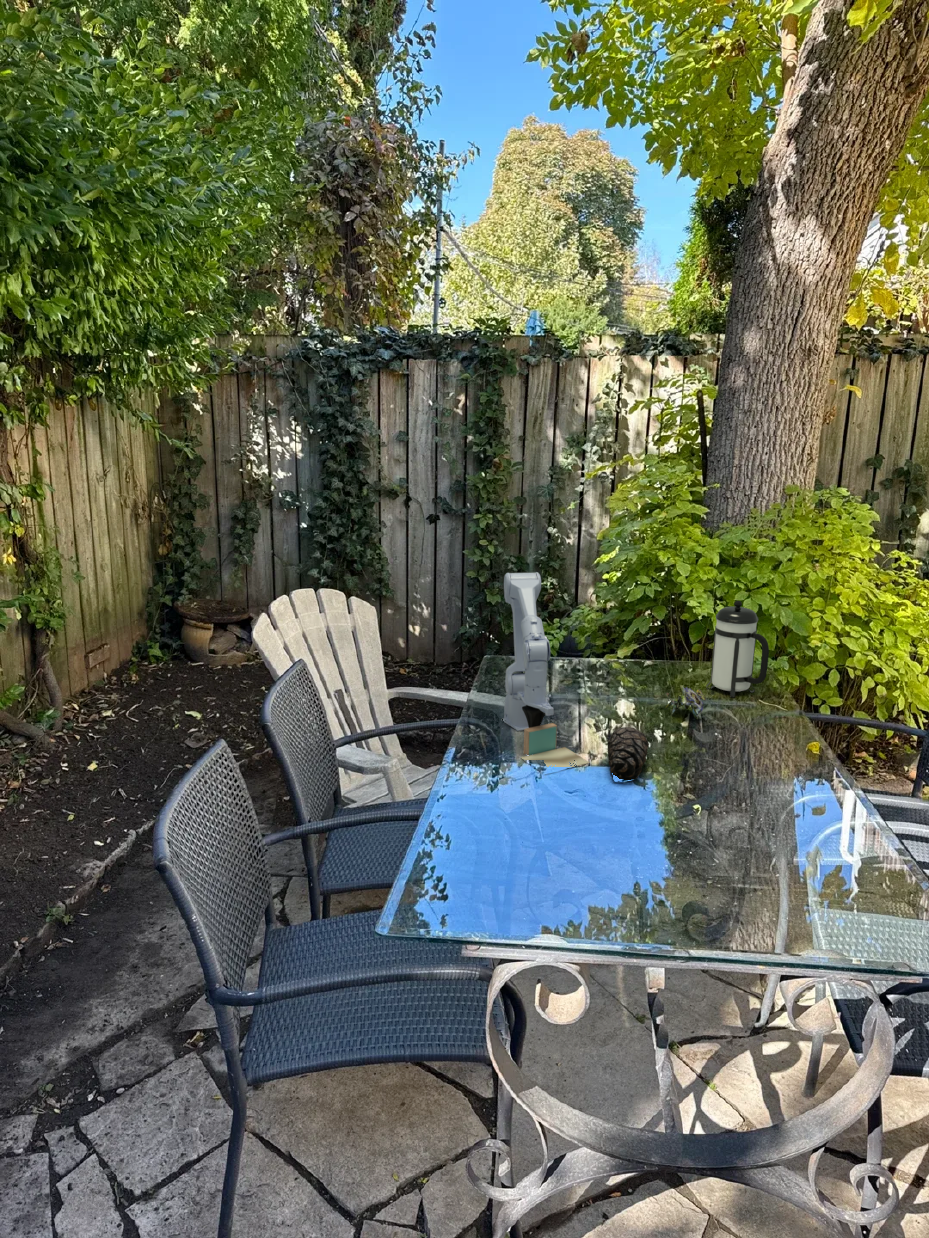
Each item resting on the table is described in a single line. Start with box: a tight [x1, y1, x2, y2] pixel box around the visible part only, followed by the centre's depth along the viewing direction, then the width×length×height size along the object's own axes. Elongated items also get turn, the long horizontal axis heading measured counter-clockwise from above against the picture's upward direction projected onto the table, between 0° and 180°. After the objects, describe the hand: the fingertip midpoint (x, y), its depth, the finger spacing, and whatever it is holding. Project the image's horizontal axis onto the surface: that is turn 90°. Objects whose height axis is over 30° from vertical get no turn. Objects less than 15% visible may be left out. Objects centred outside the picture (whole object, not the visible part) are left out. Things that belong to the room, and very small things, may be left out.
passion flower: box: [665, 684, 707, 720], centre depth 235 cm, size 11×11×12 cm
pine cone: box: [606, 726, 650, 780], centre depth 198 cm, size 10×18×10 cm, turn 171°
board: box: [520, 746, 591, 768], centre depth 205 cm, size 11×14×1 cm
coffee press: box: [706, 600, 770, 699], centre depth 253 cm, size 17×16×30 cm
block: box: [523, 722, 558, 755], centre depth 210 cm, size 2×9×7 cm, turn 118°
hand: (534, 732), depth 212 cm, fingers closed
